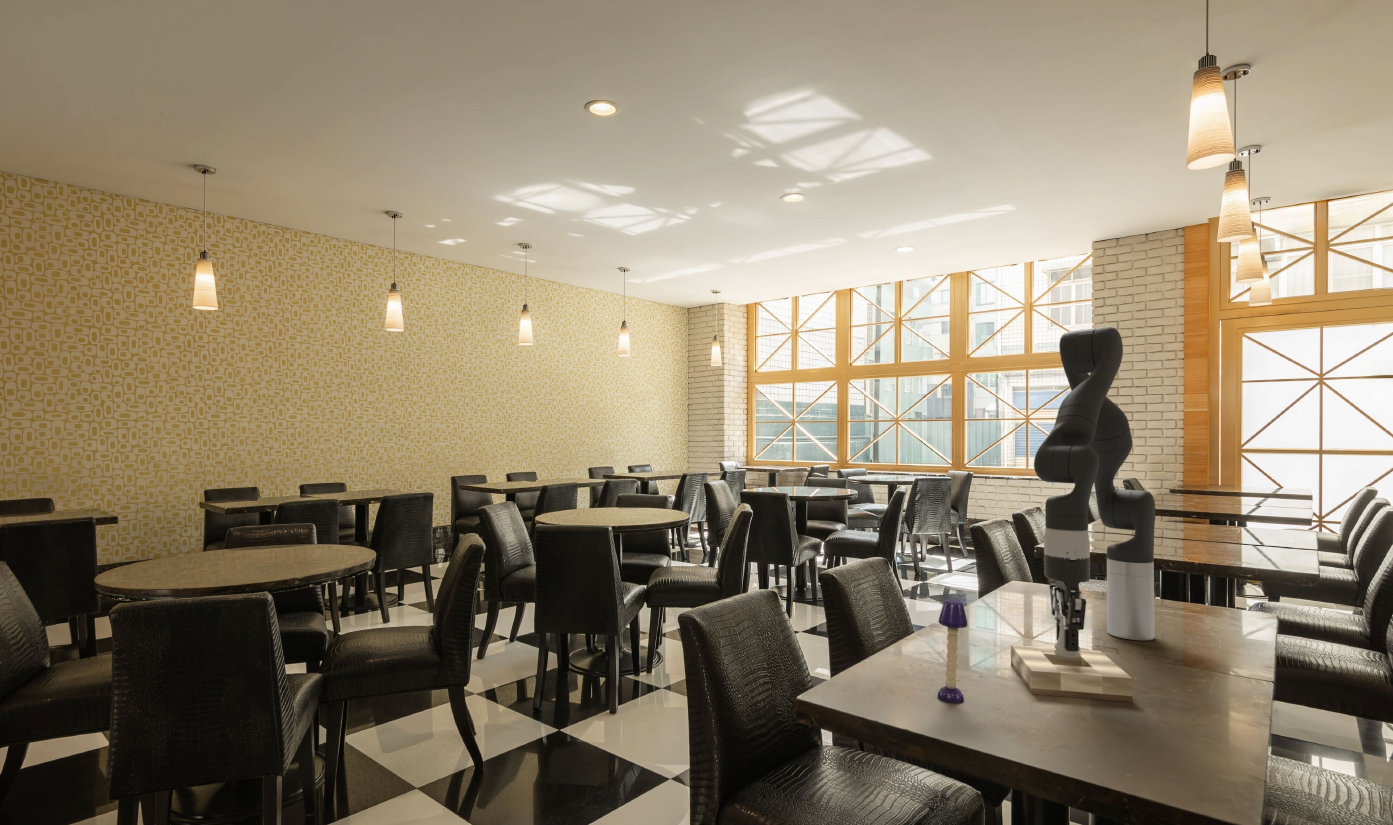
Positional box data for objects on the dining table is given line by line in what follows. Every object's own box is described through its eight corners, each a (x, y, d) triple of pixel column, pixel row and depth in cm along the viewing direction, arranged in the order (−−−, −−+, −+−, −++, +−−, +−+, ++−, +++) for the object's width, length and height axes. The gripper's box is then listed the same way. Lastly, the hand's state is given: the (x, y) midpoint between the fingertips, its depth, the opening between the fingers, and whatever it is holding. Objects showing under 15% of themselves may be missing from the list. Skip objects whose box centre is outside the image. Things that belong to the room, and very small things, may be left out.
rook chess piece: (1084, 660, 128) (1084, 615, 128) (1057, 658, 129) (1057, 614, 129) (1076, 652, 132) (1076, 609, 133) (1050, 651, 133) (1050, 608, 133)
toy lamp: (967, 696, 122) (966, 599, 123) (967, 705, 118) (967, 604, 119) (937, 692, 124) (937, 596, 125) (937, 702, 120) (937, 602, 120)
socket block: (1010, 665, 140) (1010, 644, 140) (1099, 672, 136) (1099, 650, 137) (1031, 693, 124) (1031, 670, 124) (1132, 702, 121) (1132, 678, 121)
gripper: (1034, 546, 139) (1035, 634, 138) (1055, 558, 125) (1056, 657, 124) (1076, 548, 137) (1077, 637, 137) (1102, 560, 123) (1103, 660, 123)
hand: (1067, 646), depth 131 cm, fingers closed on rook chess piece, 4 cm apart
